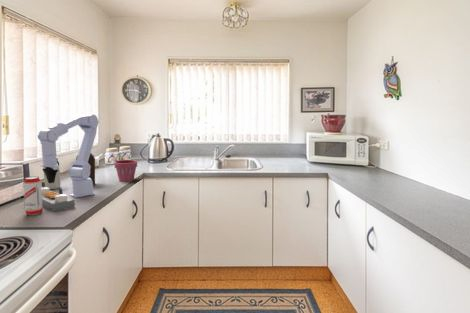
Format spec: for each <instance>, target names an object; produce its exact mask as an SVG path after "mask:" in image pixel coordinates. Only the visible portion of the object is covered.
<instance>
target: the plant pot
mask: <svg viewBox="0 0 470 313" xmlns="http://www.w3.org/2000/svg"><path fill="white" fill-rule="evenodd" d="M113 165H114V168H115V169H116V170H115V171H116V173H117V174H116V175H117V177H118V181H119V182H122V183H123V182H124V183H125V182H126V183H128V182H133V181H134V179H135V174H136V169H137V167H138V161H137V160H135V159H121V160H120V159H119V160H115V161H114V164H113Z"/></svg>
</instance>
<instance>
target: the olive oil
mask: <svg viewBox="0 0 470 313" xmlns="http://www.w3.org/2000/svg"><path fill="white" fill-rule="evenodd" d="M77 157H78V155H77V156H76V158H75V161H76V160H77ZM88 164H89V165H90V166H91V168H90V176H89V177H88V178H91V179H92V182H93V186H94V185H96V158H95V156H94V155H93V154H92V152H91V153H90V156H89V160H88Z"/></svg>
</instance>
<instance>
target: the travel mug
mask: <svg viewBox="0 0 470 313" xmlns="http://www.w3.org/2000/svg"><path fill="white" fill-rule="evenodd" d="M58 159H59V157H58V156H57V164H58V165H59V166H60V162H59V160H58ZM42 167H43V166H42ZM45 168H46V167H43V168H42V169H45ZM60 173H61V172H60V169H59V170H58V171H57V173H56V176H55V181H54V183H48V180H47V177H46V175H45V173H44V172H43V180H44V181H43V182H45V187H47V188H50V190H56V189H60V188H61V175H60ZM45 187H44V188H45Z"/></svg>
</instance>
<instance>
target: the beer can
mask: <svg viewBox="0 0 470 313" xmlns="http://www.w3.org/2000/svg"><path fill="white" fill-rule="evenodd" d="M41 188H42V182H41V179H40V176H36V175H35V176H27V177H24V181H23V195H24V198H23V199H24V208H25V214H26V215H27V216H37V215H40V214H42V212H43V210H44V207H43V206H42V192H41Z"/></svg>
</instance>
